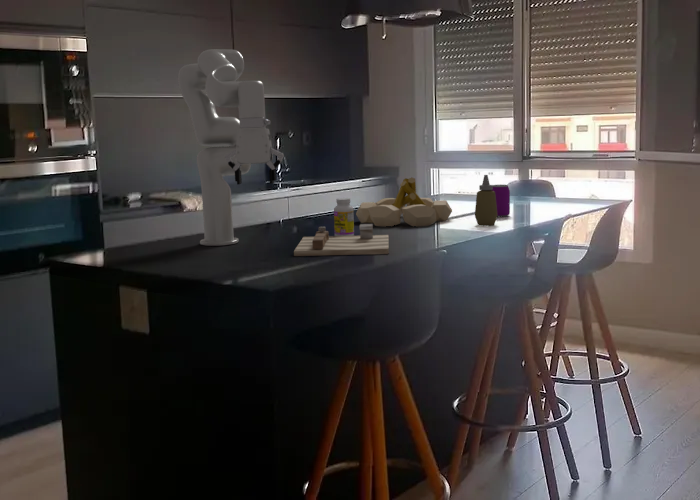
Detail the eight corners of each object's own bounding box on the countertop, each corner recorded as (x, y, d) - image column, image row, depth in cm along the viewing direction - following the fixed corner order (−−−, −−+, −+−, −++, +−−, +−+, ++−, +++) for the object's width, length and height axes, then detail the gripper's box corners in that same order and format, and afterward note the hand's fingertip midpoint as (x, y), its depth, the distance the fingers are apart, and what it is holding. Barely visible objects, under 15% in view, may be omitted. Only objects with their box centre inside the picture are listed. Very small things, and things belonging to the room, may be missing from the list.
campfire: (422, 230, 292) (421, 181, 289) (341, 225, 311) (340, 180, 308) (464, 218, 321) (464, 174, 318) (388, 214, 339) (387, 172, 337)
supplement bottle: (330, 236, 281) (329, 199, 279) (343, 234, 286) (342, 197, 284) (344, 238, 277) (343, 200, 275) (358, 235, 282) (357, 198, 279)
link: (316, 238, 266) (316, 231, 265) (329, 238, 266) (328, 230, 265) (311, 248, 247) (310, 240, 246) (324, 248, 246) (324, 240, 246)
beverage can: (487, 217, 319) (487, 186, 317) (492, 214, 326) (492, 184, 324) (507, 217, 316) (507, 186, 314) (511, 215, 323) (511, 184, 321)
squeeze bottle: (487, 227, 292) (487, 176, 289) (470, 225, 298) (469, 175, 295) (502, 224, 297) (502, 174, 294) (484, 223, 303) (484, 173, 300)
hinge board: (303, 241, 273) (302, 223, 272) (388, 239, 272) (388, 221, 271) (294, 256, 246) (293, 236, 245) (388, 253, 244) (388, 233, 243)
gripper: (284, 123, 242) (287, 181, 245) (226, 125, 244) (229, 183, 247) (279, 123, 235) (282, 184, 237) (220, 125, 236) (223, 185, 239)
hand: (255, 183), depth 242 cm, fingers open, 9 cm apart
